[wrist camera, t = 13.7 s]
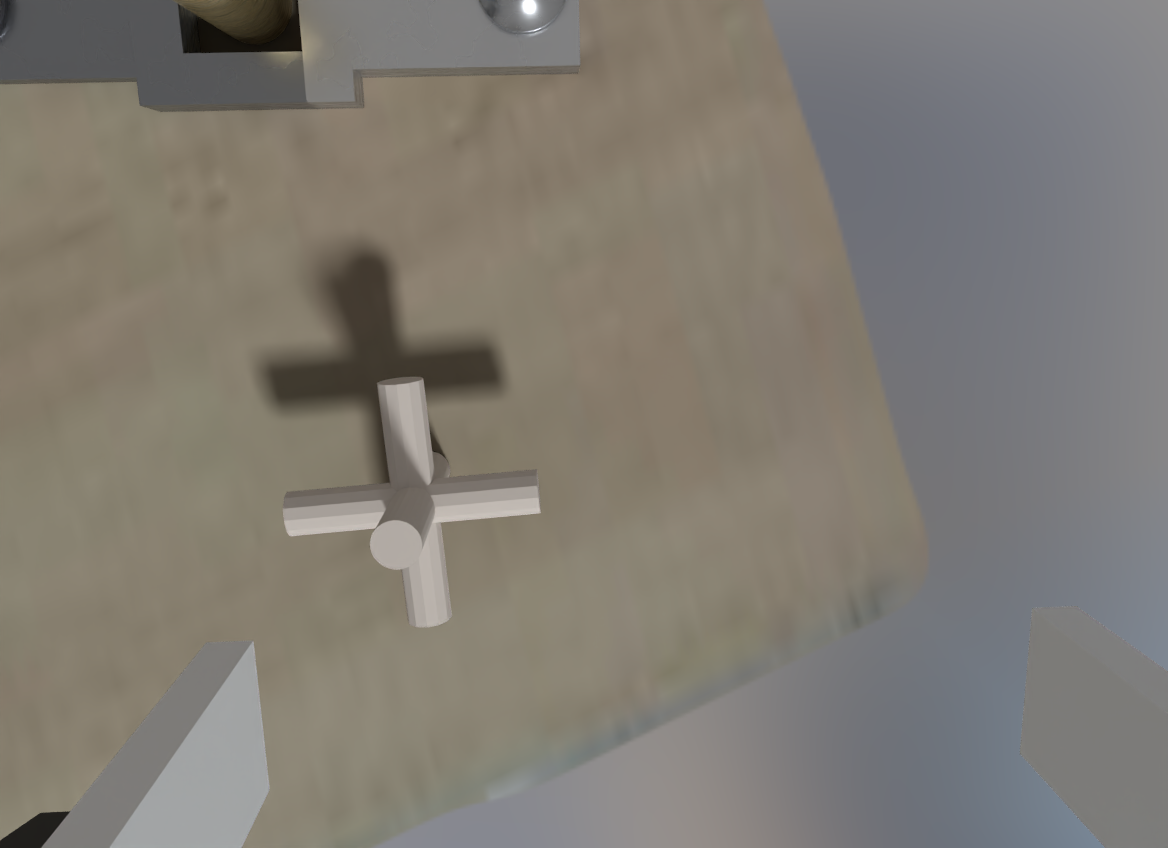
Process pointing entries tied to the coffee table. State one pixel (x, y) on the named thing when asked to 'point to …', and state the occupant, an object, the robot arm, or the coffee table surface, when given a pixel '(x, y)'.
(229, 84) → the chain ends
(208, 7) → the pin
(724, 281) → the coffee table surface
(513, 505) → the pipe connector
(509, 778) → the coffee table surface
